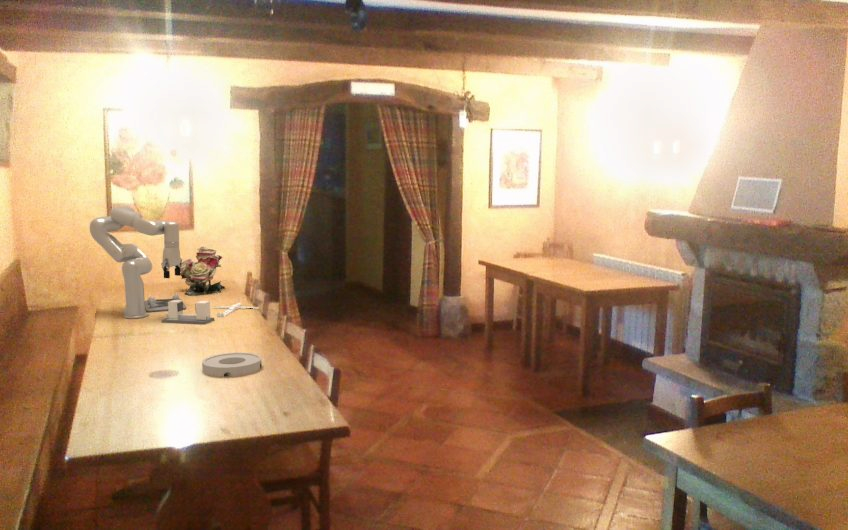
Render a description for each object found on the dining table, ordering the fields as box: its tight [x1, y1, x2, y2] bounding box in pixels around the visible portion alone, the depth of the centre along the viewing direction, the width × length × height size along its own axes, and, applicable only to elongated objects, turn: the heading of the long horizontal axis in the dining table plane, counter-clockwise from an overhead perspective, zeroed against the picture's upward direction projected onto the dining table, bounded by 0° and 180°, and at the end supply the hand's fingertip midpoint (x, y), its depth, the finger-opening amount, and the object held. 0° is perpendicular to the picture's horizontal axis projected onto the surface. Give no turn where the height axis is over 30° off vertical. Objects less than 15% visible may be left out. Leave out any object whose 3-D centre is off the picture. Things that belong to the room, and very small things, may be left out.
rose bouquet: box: [180, 246, 226, 297], centre depth 467 cm, size 26×29×30 cm
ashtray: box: [201, 352, 263, 378], centre depth 291 cm, size 23×23×4 cm
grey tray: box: [145, 294, 187, 313], centre depth 422 cm, size 30×22×7 cm
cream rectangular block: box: [167, 299, 184, 319], centre depth 382 cm, size 6×6×9 cm
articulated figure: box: [212, 302, 260, 318], centre depth 406 cm, size 27×4×30 cm
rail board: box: [161, 300, 215, 325], centre depth 380 cm, size 25×10×11 cm, turn 77°
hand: (172, 276), depth 385 cm, fingers open, 9 cm apart
